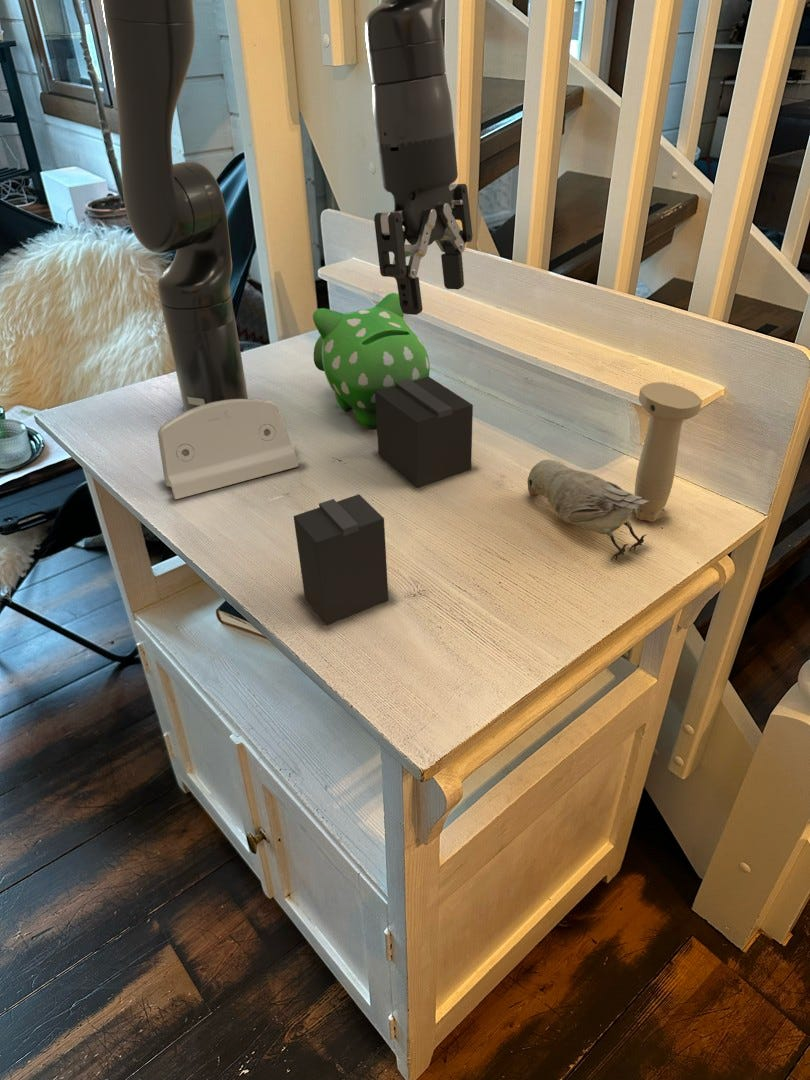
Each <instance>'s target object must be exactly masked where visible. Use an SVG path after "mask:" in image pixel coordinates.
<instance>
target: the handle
mask: <svg viewBox="0 0 810 1080" xmlns="http://www.w3.org/2000/svg"><path fill="white" fill-rule="evenodd" d="M638 401H639V403H640V404H641V406H642V408H643V409H644V410H645V411H646V412H647V413H648V414H649V419H648V423H647V428H646V433H645V437H644V441H643V445H642V449H641V453H640V458H639V461H638V465H637V470H636V475H635V482H634V495H636V496H639V497H642V498H640V499H643V500H646V501H649V502H646V503H644V504H645V505H639V506H638V507H637V509H634V510H633V512H634V513H635V517H636V518H637V519H638V520H644V521H647V522H650V523H653V522H655V521H657V520H660V519H662V518H663V515H664V513H665V511H666V509H665V507H666V505H667V503H668V500H669V498H670V494H671V492H672V487H673V484H674V479H675V474H676V466H677V459H678V452H679V445H680V437H681V432H682V425H683V422H684V421H685V420H688V419H691V418H693V417H695V416H697V415H698V414H699V413H700V411H701V407H702V402H703V399H702V398H701V397H700V396H699V395H698V394H696V393H695V392H694V391H692V390H690V389H687V388H685V387H684V386H681V385H676V384H673V383H668V382H663V381H658V382H650V383H646V384H645V385H643V386H641V387H640V389H639V394H638Z"/></svg>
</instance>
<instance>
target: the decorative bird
mask: <svg viewBox="0 0 810 1080" xmlns="http://www.w3.org/2000/svg"><path fill="white" fill-rule="evenodd" d="M527 490H528V493H529V495H530V496H531V497H539V496H541V497H543V498H545V499H547V502H548V504H549V505H550V507H552V509H553V510H554V511H555V512H556V514H557V515H558V517H559V519H560V520H561V521H562V522H563V523H566V524H569V525H570V524H571V525H573V524H574V525H575V526H578V527H580V528H581V529H584V530H587V531H592V532H595V533H597V534H601V535H606V536H608V537H609V538H610V541H611V543H612V544H613V546H614V547H615V548H616V549H617V550H618V552H616V553H615V554H613V555H612V557H611V558H610V562H612V561H613V559H614V558H615V560H616V561H618V557H619V556H625V554H624V553H625V552H626V546H628V545H630V543H626V544H624V545H622V547H621V546H620V545H618V543H617V542H616V540H615V537H614V533H613V532H615V531H616V530H618V529H619V528H620V527H622V526H623V525H624V526H625V527H627V528H628V530H629V532H630V535H631V536H632V537H633V538H634V539H635V540H636V541H637V542H635V543H633V544H632V545H631V546H630V548H629V550H628V552H629V553H630V552H631V550H632V549H633V551H636V547H638V546H641V547H642V546H643V543H644V542H645V539H644V538H645V537H646V536H647V534H642V535H641V537H640V538H639V537H638V536H637V535H636V534H635V532H634V529H633V527H632V524H631V522H630V520H629V518H630V516H631V515H632V513H633V511H634V509H637V507H638V506H639V505H645V504H644V503H646V502H649V501H646V500H643V499H640V498H642V497H639V496H636V495H635V494H634V493H633V492H629V491H626V490H624V489H623V488H622V487H621V486H619V485H617V484H616V483H613V482H610V481H608V480H606V479H603V478H602V477H599V476H597V475H595V474H592V473H590V472H586V471H582V470H581V471H580V470H578V469H573V468H571V467H568V466H566V465H565V464H564V463H562V462H560V461H558V460H555V459H542V460H540V461H539V462H537V463H536V464H535V465H534V466H532V469H531V470H530V471H529V474H528V477H527Z"/></svg>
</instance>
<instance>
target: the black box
mask: <svg viewBox="0 0 810 1080" xmlns="http://www.w3.org/2000/svg"><path fill="white" fill-rule="evenodd" d="M293 523H294V530H295V537H296V545H297V553H298V559H299V566H300V573H301V580H302V588H303V594H304V595H303V596H304V598H305V600H306V601H307V602H308V604H309V605H310V606H311V607H312V609H313V610H314V612H315V613H316V614H317V615H318V617H319V618H320V620H322V622H323V623H324V625H325V626H328V625H331V624H332V623H335V622H337V621H341V620H343V619H345V618H348V617H350V616H352V615H355V614H358V613H361V612H362V611H365V610H367V609H370V608H373V607H375V606H377V605H379V604H382V603H384V602H388V601H389V585H388V583H389V582H388V568H387V566H388V565H387V548H386V531H385V530H386V529H385V518H384V516H382V515H381V513H379V512H378V510H376V509H375V508H374V507H373V506H372V505H371V504H370V503H369V502H368V501H367V500H366V499H365V498H364V497H363V496H362V495H361V494H359V493H358V494H355V495H353V496H350V497H349V496H348V497H346V498H343V499H340V500H337V501H336V500H335V498H332V499H329V500H326V501H322V502H320V503H318V507H316V508H313V509H310V510H307V511H304V512H301V513H299V514H295V515H293Z"/></svg>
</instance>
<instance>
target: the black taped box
mask: <svg viewBox="0 0 810 1080" xmlns="http://www.w3.org/2000/svg"><path fill="white" fill-rule="evenodd" d="M375 401H376V419H377V428H376V433H377V434H376V435H377V436H376V437H377V453H378V455H379V456H380V457H382V459H384V460H385V462H387V463H388V464H389V465H390V466H392V467H393V468H394V469H396V470H397V471H398V472H399V473H400V474H401V475H402V476H403V477H404V478H405V479H407V480H408V481H409V482H410V483H411V484H413V485H414V486H415V487H416V488H421V487H423V486H426V485H429V484H432V483H436V482H438V481H441V480H443V479H446V478H449V477H452V476H456V475H459V474H461V473H465V472H467V471H470V470H472V453H473V451H472V448H473V416H474V415H473V413H474V411H473V410H474V405H473V404H472V403H470V402H469V401H468V400H466V399H464V398H463V397H461V396H460V395H459V394H457V393H455V392H453V391H452V390H450V389H449V388H447V387H446V386H444V385H443V384H441V383H440V382H438V381H436V380H435V379H433V378H432V377H431V376H429V377H425V378H422V379H418V380H414V381H411V380H409V379H407V380H403V381H400V382H396V383H395V386H393V387H389V388H385V389H382V390H378V391H375Z"/></svg>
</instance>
